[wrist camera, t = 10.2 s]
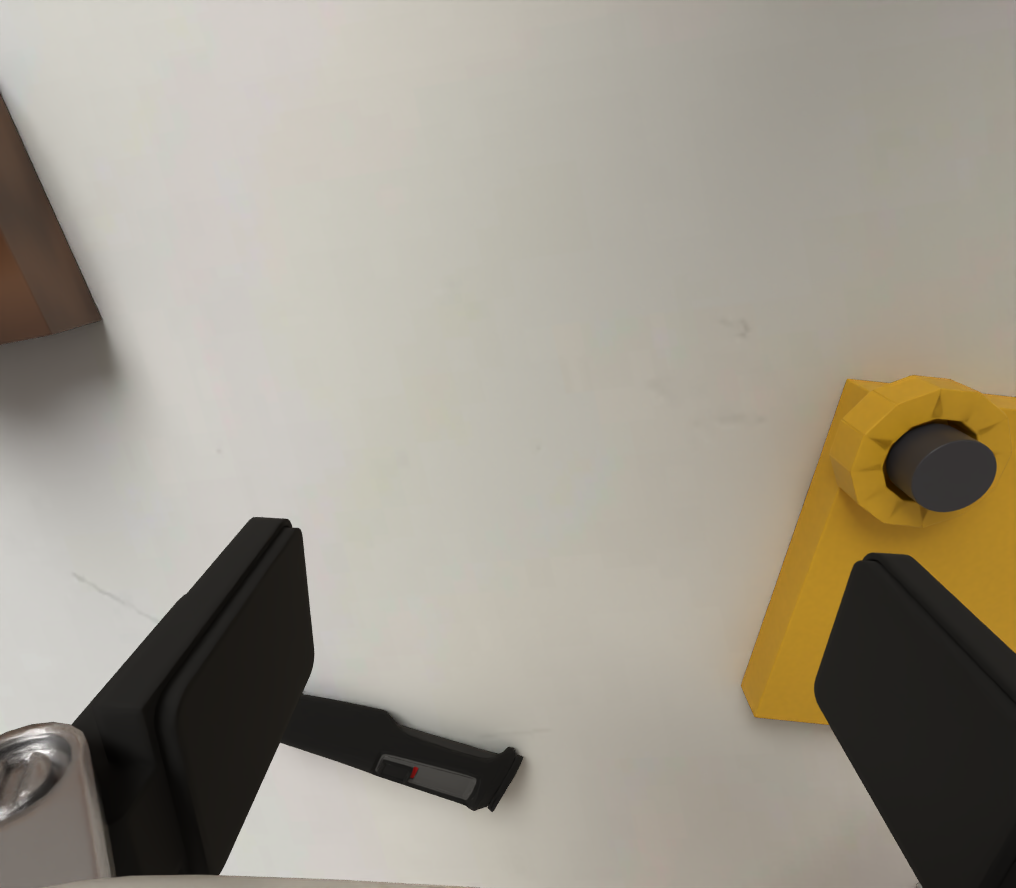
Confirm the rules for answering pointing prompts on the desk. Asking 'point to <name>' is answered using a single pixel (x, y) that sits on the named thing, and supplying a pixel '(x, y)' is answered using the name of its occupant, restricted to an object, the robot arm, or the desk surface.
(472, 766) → the electric trimmer
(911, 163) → the desk surface
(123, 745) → the robot arm
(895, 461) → the black cylindrical knob
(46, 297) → the dial panel
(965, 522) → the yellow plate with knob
